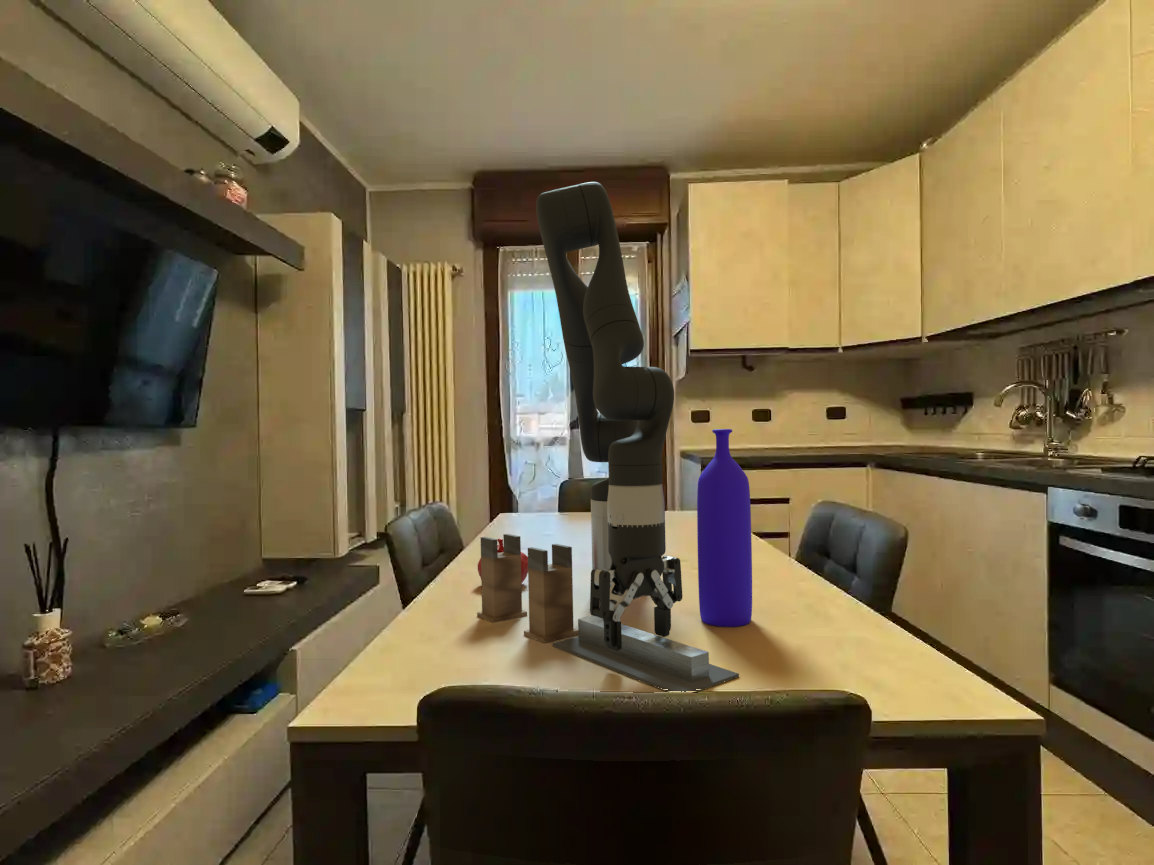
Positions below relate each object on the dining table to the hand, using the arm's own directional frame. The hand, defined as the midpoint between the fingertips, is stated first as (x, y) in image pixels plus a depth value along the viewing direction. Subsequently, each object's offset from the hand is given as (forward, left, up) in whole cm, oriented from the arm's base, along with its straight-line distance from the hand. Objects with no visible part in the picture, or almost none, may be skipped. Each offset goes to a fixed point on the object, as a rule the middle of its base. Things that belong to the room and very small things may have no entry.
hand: (638, 642), depth 93 cm
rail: (0, 0, -2) cm, 2 cm away
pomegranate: (-10, -50, -3) cm, 51 cm away
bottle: (-23, -5, -3) cm, 24 cm away
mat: (0, 0, -2) cm, 2 cm away
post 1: (+2, -31, -2) cm, 31 cm away
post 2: (+2, -17, -2) cm, 17 cm away
